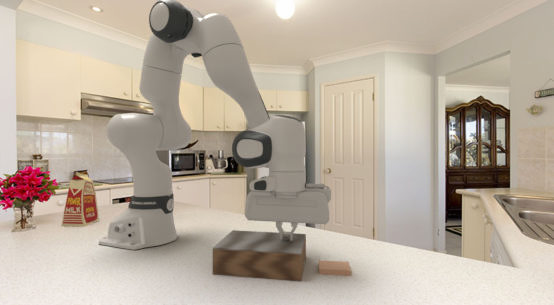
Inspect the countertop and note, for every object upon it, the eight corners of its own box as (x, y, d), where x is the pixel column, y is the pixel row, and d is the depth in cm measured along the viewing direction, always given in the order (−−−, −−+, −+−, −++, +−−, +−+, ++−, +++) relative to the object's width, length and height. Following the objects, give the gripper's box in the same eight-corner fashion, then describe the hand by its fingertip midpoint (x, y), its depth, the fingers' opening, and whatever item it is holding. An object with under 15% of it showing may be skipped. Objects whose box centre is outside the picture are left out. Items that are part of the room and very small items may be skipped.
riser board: (212, 274, 63) (212, 247, 63) (232, 252, 77) (232, 230, 77) (301, 281, 60) (301, 253, 60) (305, 256, 74) (305, 233, 74)
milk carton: (84, 226, 104) (84, 172, 104) (60, 226, 104) (60, 172, 104) (100, 220, 113) (100, 170, 113) (78, 220, 113) (77, 170, 113)
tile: (350, 270, 63) (350, 277, 63) (348, 261, 68) (348, 268, 68) (319, 268, 64) (319, 275, 64) (318, 260, 69) (318, 266, 69)
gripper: (330, 182, 69) (330, 238, 69) (250, 180, 72) (249, 233, 73) (331, 185, 63) (330, 247, 63) (242, 183, 66) (242, 241, 66)
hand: (286, 240), depth 68 cm, fingers closed
